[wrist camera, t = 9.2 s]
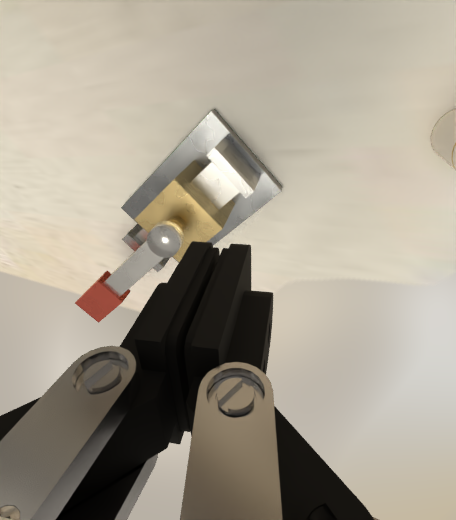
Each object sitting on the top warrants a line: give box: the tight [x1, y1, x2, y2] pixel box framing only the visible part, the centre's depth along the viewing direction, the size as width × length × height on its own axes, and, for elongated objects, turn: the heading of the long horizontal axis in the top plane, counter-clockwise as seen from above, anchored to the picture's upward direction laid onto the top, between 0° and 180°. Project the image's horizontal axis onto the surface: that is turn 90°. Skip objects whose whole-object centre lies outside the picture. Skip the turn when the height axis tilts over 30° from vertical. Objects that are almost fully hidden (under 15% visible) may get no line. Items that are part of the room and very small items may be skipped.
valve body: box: [121, 109, 282, 272], centre depth 34 cm, size 10×15×9 cm, turn 134°
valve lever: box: [75, 221, 184, 322], centre depth 32 cm, size 14×3×2 cm, turn 135°
